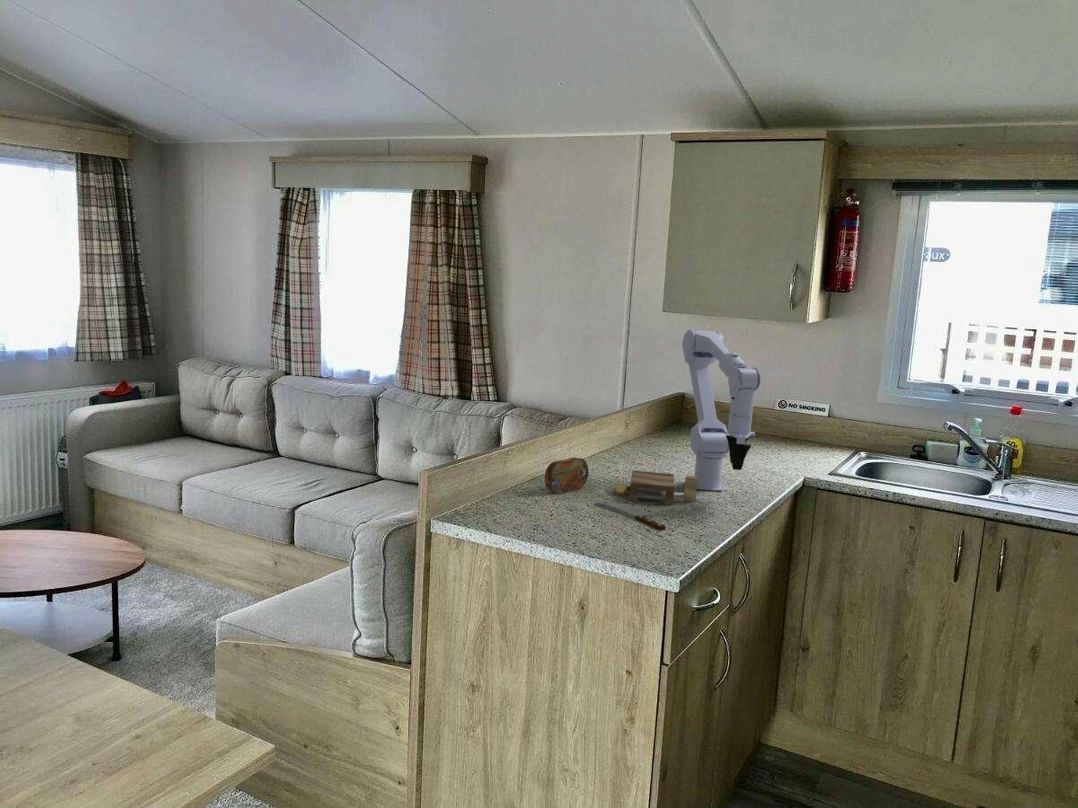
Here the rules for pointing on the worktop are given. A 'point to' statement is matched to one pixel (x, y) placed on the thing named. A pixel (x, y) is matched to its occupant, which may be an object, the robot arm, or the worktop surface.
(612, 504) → the kitchen knife
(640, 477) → the low shelf
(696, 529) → the worktop surface
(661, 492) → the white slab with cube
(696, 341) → the robot arm
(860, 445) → the worktop surface
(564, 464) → the tin
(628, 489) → the brass token
